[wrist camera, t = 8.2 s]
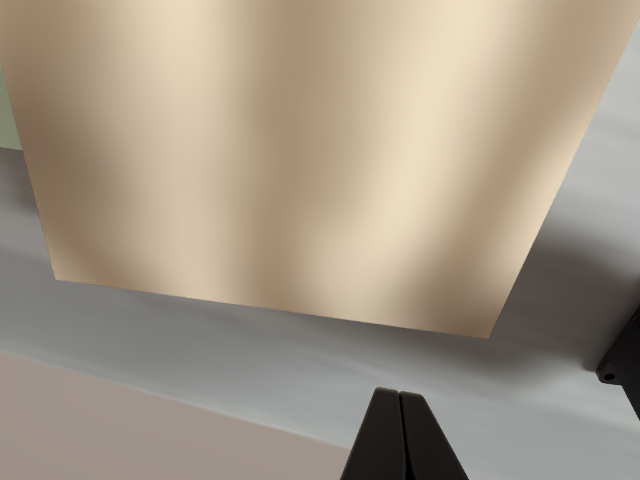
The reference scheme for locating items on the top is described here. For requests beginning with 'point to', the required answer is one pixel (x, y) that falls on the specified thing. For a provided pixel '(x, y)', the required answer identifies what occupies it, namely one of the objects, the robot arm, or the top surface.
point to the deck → (306, 145)
